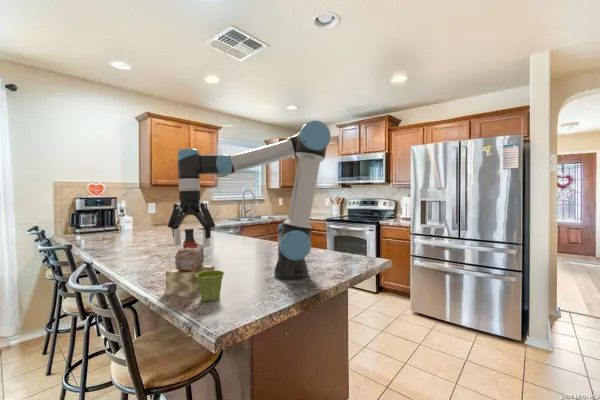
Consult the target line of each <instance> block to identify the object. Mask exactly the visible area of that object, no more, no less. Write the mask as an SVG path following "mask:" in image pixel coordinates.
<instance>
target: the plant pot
mask: <svg viewBox="0 0 600 400" xmlns="http://www.w3.org/2000/svg"><path fill="white" fill-rule="evenodd" d="M224 275H225V271H222V270H215V269H214V271H204V272H200V273H198V274H196V277H197V280H198V282H199V288H200V293H199V294H200V298H201V301H202V302H206V301H208V302H213V301H217V300H218V299H220V298H221V290H222V281H223V278H224Z"/></svg>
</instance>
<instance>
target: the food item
mask: <svg viewBox="0 0 600 400" xmlns="http://www.w3.org/2000/svg"><path fill="white" fill-rule="evenodd" d="M183 244H184V248H183V247H182V248H181V249H178V250H177V252H176V254H175V255H174V258H175V261H174V262H175V263H174V265H175V266H174V267H175V269H176V270H179V271H183V272H192V271H195V270H196V269H197V268H198V267H199V266H200V265H203V263H204V260H205V254H204V248H203V244H200V243H197V242H196V243H193V242H191V243H186V244H185V243H184V242H183ZM183 244H182V245H183Z"/></svg>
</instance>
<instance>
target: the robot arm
mask: <svg viewBox="0 0 600 400" xmlns="http://www.w3.org/2000/svg"><path fill="white" fill-rule="evenodd" d="M330 142H331V130H330V128H329V127H328V126H327V125H326V124H325V123H324V122H322V121H320V120H310V121H308V122H305V123H304V124H303V125H302V126H301V129H300V131H299V132H298V133H297V134H295V135H293V136H289V137H287V139H286V140H282V141H280V142H276V143H273V144H269V145H264V146H260V147H258V148H257V147H256V148H253V149H249V150H246V151H243V152H238V153H236V154H231V155H230V154H224V153H220V154H219V153H218V154H215V153H214V154H202V153H201V154H200V152H199V150H198V149H196V148H181V149H179V150H178V151H177V171H178V190H179V192H178V200H179V201H180V202H179V203H173V207H172V208H173V209H172V212H171V215H170V217H169V220H168V222H167V223H168V224H167V227H168V228H170V229H172V238H173V246H174V247H179V246H181V245H182V241H181V238H182V237H181V228H180V226H181V224H182V223H183V221H184V219H185V218H186V217H187V216H194V217H195V218H196V219H197V221H198V222H199V223H200V225H201V226H202V227H203V229H202V245H203V249H204V248H208V247H209V248H210V246H211V245H210V244H211V243H210V239H211V237H212V234H211V233H212V232H211V230H212V229H213V228H215V227H216V224H215V221H214V220H213V217H212V215H211V213H210V211H209V209H208V208H209V207H208V203H207V202H200V200H201V191H200V190H201V181H200V175H215V176H217V177H219V178H225V177H227V176H229V175H232V174H235V173H239V172H242V171H243V172H244V171H246V170H250V169H254V168H257V167H261V166H264V165H268V164H271V163H275V162H280V161H283V160H286V159H290V158H291V159H293V160H295V159H298V160H297V165H296V172H295V175H294V176H295V177H294V183H293V187H292V194H291V198H290V206H289V210H288V211H289V212H288V217H287V218H286V219H285V220H284V221H283V222H282V223H280V224H278V226H277V231H276V232H277V262H276V264H275V267H274V271H273V272H274V274H273V276H274V278H276V279H278V280H283V281H296V280H303V279H306V278H308V277H309V274H310V273H309V272H310V271H309V268H308V265H307V260H306V259H305V258H306V257H307V256H308V254H309V253H310V252H311V249H312V248H311V247H312V241H311V236H312V231H313V230H312V229H313V226H312V224H311V223H310V220H311V214H312V208H313V203H314V197H315V192H316V186H317V181H318V175H319V169H320V164H321V163H322V162H323V161H325V159H326V152H327V148H328V146H329V144H330Z"/></svg>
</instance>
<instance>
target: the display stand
mask: <svg viewBox="0 0 600 400" xmlns="http://www.w3.org/2000/svg"><path fill="white" fill-rule="evenodd" d="M214 270H215V265H208V264H201V265H200V266H199V267H198V268H197V269H196V270H195V271H192V272H183V271H179V270H178V269H168V270H166V271H165V289H163V290H164V295H171V296H173V295H174V296H179V297H186V298H193V297H195V296H197V295H199V294H200V288H199V282H198V280H197V277H196V274H198V273H200V272H204V271H214Z"/></svg>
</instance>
